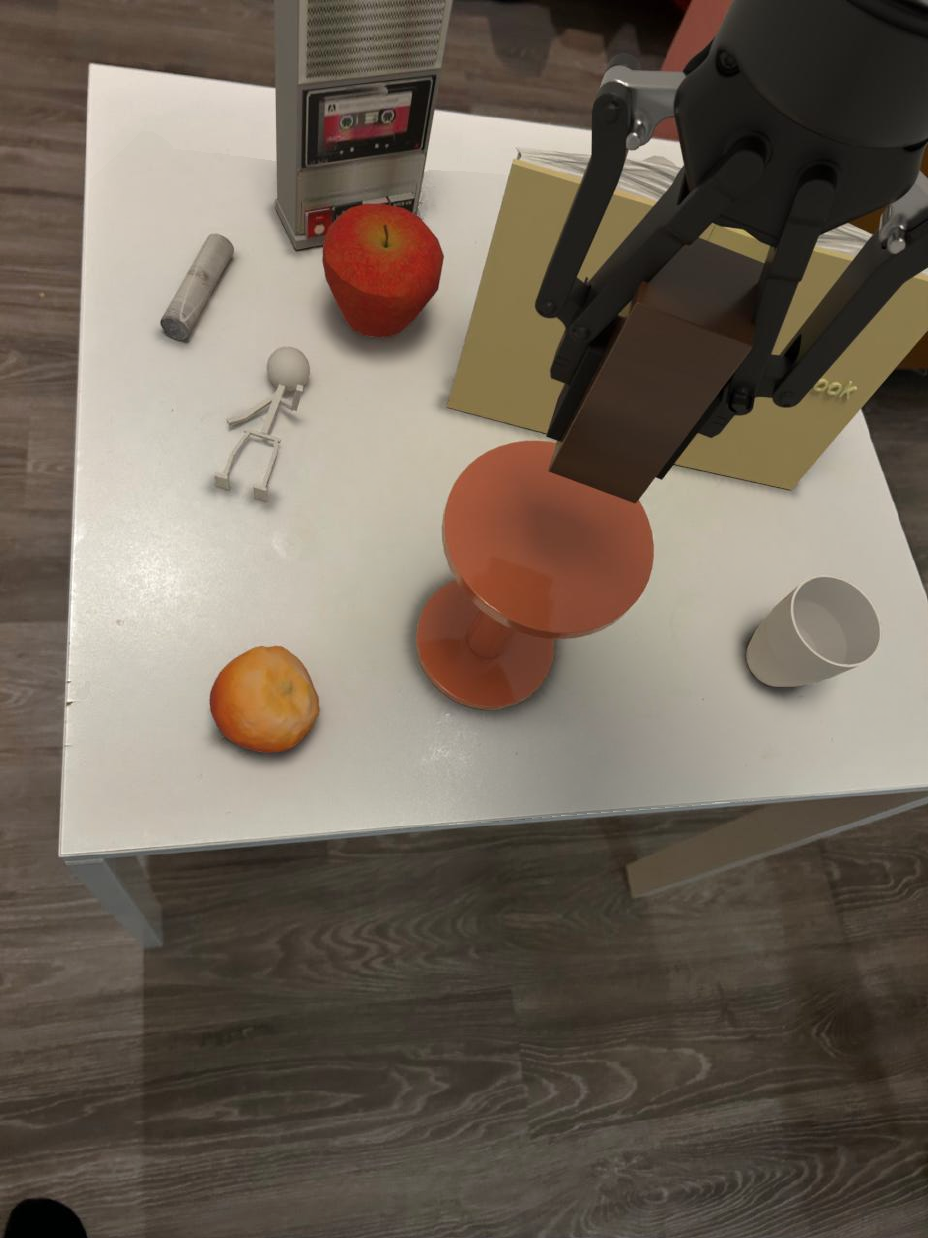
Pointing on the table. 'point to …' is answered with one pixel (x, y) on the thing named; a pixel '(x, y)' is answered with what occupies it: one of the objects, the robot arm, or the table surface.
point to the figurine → (271, 408)
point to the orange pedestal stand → (526, 574)
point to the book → (527, 235)
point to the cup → (815, 634)
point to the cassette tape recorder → (353, 106)
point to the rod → (197, 286)
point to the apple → (381, 267)
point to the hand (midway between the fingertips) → (610, 437)
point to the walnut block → (661, 369)
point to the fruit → (264, 700)
